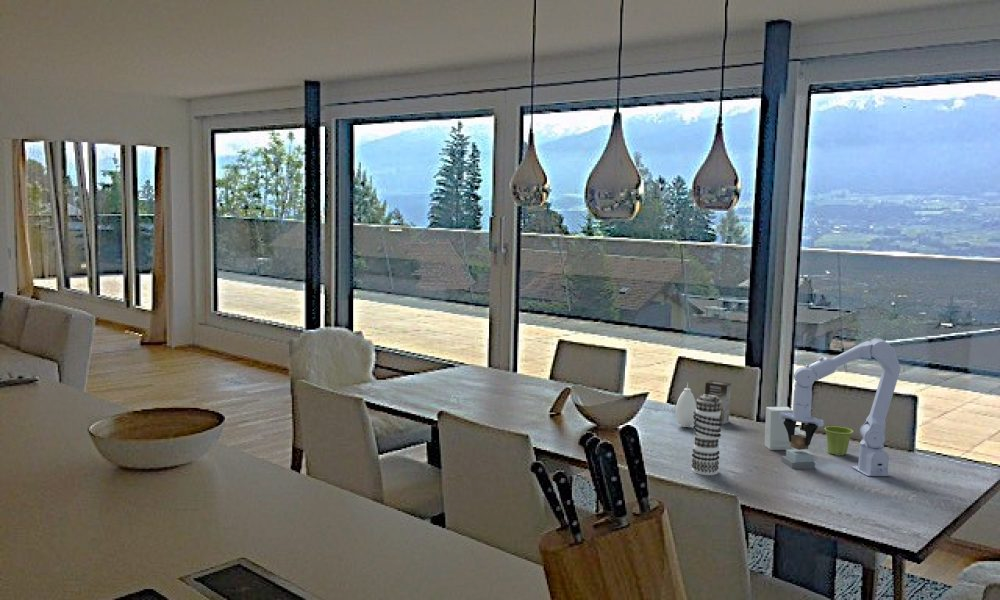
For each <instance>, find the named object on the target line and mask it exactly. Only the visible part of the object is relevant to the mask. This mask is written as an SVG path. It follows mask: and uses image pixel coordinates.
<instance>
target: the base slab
mask: <svg viewBox="0 0 1000 600" xmlns="http://www.w3.org/2000/svg"><path fill="white" fill-rule="evenodd" d="M780 458H781V460H780V462H781V463H783V464H784V465H785V466H788V467H789V468H790V469H816V467H815V466H816V462H815V461H814V462H794V461H792V460H790V459H789V458H787V457H786V455H781V457H780Z"/></svg>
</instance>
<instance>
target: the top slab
mask: <svg viewBox="0 0 1000 600" xmlns="http://www.w3.org/2000/svg"><path fill="white" fill-rule="evenodd" d="M785 456H786V457H787V458H789V459H790V460H792V461H794V462H815V454H814V453H811V452H810V451H808V450H807V449H803V450H798V449H795V448H792V449H791V450H785Z"/></svg>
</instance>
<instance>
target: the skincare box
mask: <svg viewBox="0 0 1000 600" xmlns="http://www.w3.org/2000/svg"><path fill="white" fill-rule="evenodd" d="M781 412H784V413H791V414H793V408H792V409H791V408H790V407H789V406H766V407H765V428H764V446H765V447H766V448H767V449H768V448H769V449H770V450H769V449H768V450H769V451H786V450H792V449H793V447H790V445H791V442H789V437H788V433H787V430H786V427H785V425H784V423H783V422H784V421H785V419H779V415H780V413H781Z"/></svg>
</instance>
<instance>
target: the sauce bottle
mask: <svg viewBox="0 0 1000 600" xmlns="http://www.w3.org/2000/svg"><path fill="white" fill-rule="evenodd" d="M696 408H697V400H696V398H695V396H694V394H693V392H692V389H691V388H689V382H688V381H687V384H686V387H685V388H684V389H683V391H682V392H681V393H680V395H679V397H678V399H677V402H676V406H675V418H676V421H677V423H678V424H679V425H680V426H681V427H683V428H684V427H688V428H690V427H691V426H692V425H694V423H693V422H694V421H695V419H694V418H693V415H695V414H694V412H695V411H696ZM695 413H696V412H695Z"/></svg>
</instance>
